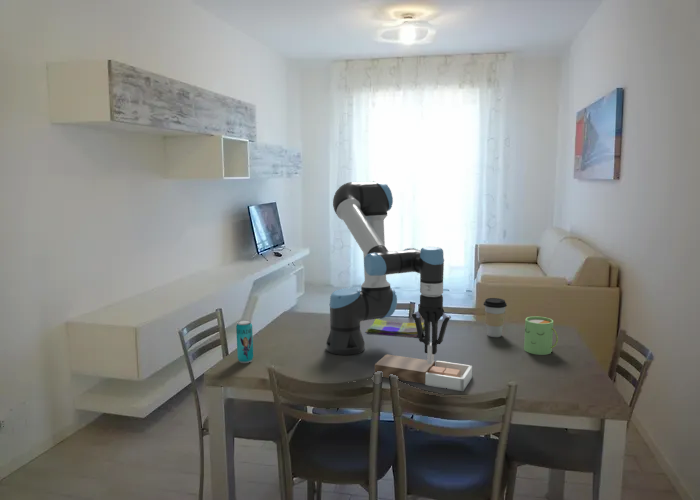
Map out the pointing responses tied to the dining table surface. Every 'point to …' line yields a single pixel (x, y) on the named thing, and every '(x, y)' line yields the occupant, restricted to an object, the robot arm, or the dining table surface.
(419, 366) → the board
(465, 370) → the tray
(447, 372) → the tile
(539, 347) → the mug
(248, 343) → the beverage can
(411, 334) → the dish towel
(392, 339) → the dining table surface
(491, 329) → the coffee cup
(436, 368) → the salmon pink block
